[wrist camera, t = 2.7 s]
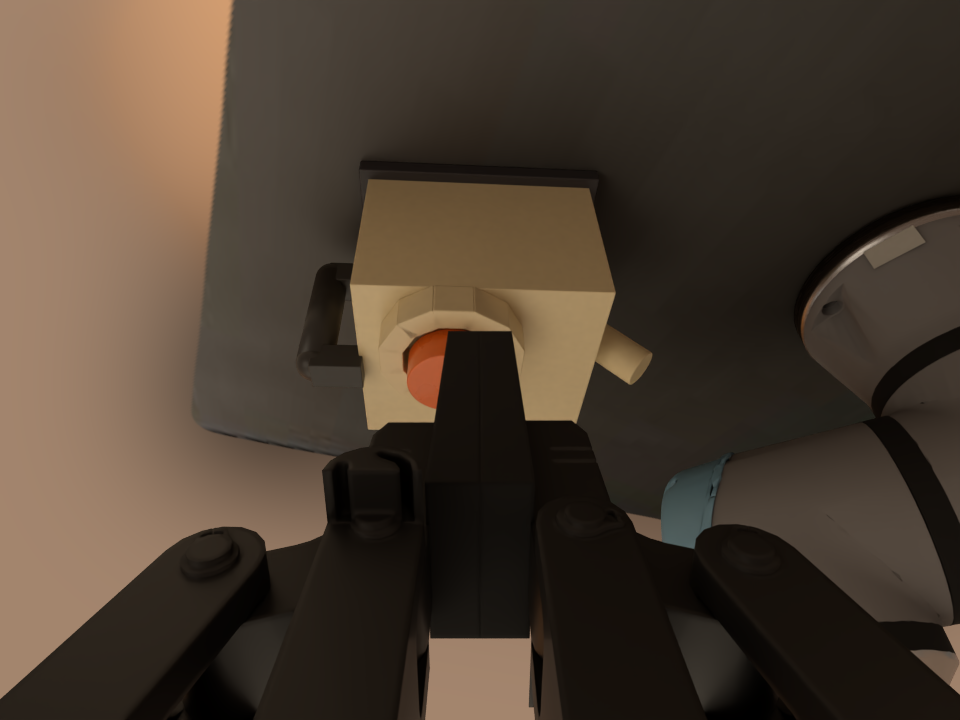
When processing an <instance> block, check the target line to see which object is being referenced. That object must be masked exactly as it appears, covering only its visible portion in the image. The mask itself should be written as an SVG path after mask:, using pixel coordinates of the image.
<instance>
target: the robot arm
mask: <svg viewBox="0 0 960 720" xmlns="http://www.w3.org/2000/svg"><path fill="white" fill-rule="evenodd" d="M794 322H795V327H796V330H797V332H798V334H799V336H800V338H801V340H802V342H803V344H804V346H805V348H806V350H807V351H808V353H809V354H810V356H811V357H812V358H813V359H814V360H815V361H817V362H818V363H819V364H820V365H821V366H822V367H824V368H825V369H826V370H827V371H828V372H830V373H831V374H832V375H833V376H834V377H836V378H837V379H838V380H839V381H840V382H841V383H843V384H844V385H845V386H846V387H847V388H849V389H850V390H851V391H852V392H853V393H854V394H856V395H857V396H858V397H859V398H860V399H862V400H863V401H864V402H865V403H866V404H867V405H868V406H869V407H870V408H871V410H872V412H873V413H874V415H875V417H876V418H875V419H871V420H867V421H863V422H859V423H855V424H851V425H848V426H844V427H840V428H836V429H832V430H828V431H824V432H820V433H816V434H812V435H808V436H804V437H800V438H797V439H793V440H789V441H785V442H781V443H777V444H773V445H769V446H765V447H761V448H757V449H753V450H749V451H745V452H741V453H737V454H734V453H732V452H731V453H727V454H725V455H723V456H722V457H721V458H720V459H718V460H715V461H712V462H709V463H705V464H702V465H699V466H696V467H692V468H689V469H686V470H683V471H681V472H679V473H677V474H676V475H675V476H674V477H673V478H672V479H671V480H670V481H669V483H668V485H667V486H666V488H665V492H664V495H663V500H662V509H661V531H662V542H661V541H657V540H654V539H650V538H648V537H646V536H643V535H641V534H639V533H637V532H636V530H635V528H634V525H633V523H632V521H631V520H630V518H629V517H628V515H627V514H626V513H625V511H623V510H622V509H620V508H619V507H617V506H616V505H614V504H613V503H611V501H610V498H609V495H608V492H607V489H606V487H605V484H604V481H603V478H602V475H601V472H600V469H599V466H598V464H597V463H596V458H595V455H594V452H593V451H592V446H591V443H590V441H589V438H588V435H587V433H586V432H585V431H584V430H583V429H581V428H580V427H579V426H578V425H577V424H575V423H574V422H573V421H572V420H526V419H525V413H524V406H523V400H522V394H521V387H520V381H519V374H518V368H517V361H516V355H515V348H514V342H513V335H512V331H448V335H447V342H446V348H445V355H444V361H443V368H442V374H441V381H440V387H439V394H438V400H437V406H436V413H435V419H434V422H388V423H387V424H386V425H385V426H383V427H382V428H381V429H380V430H379V431H377V432H376V433H375V434H374V435H373V437H372V440H371V443H370V446H369V447H365V448H359V449H356V450H352V451H349V452H346V453H343V454H341V455H340V456H338V457H336V458H334V459H333V460H331V461H330V462H329V463H328V464H327V465H326V467H325V468H324V469H323V470H322V474H323V483H324V493H325V502H326V512H327V521H328V523H327V526H326V529H325V531H324V534H323V535H322V536H320V537H318V538H316V539H313V540H311V541H308V542H305V543H301V544H298V545H294V546H289V547H284V548H280V549H275V550H271V551H266V548H265V541H264V540H263V539H262V538H261V537H260V536H259V535H258V534H257V532H254V531H251V530H249V529H246V528H243V527H219V528H214V529H208V530H204V531H201V532H198V533H196V534H193V535H191V536H189V537H186V538H184V539H182V540H180V541H179V542H178V543H176V544H175V545H173V546H172V547H170V548H169V549H167V550H166V551H165V552H164V553H163V554H162V555H160V556H159V557H158V558H157V559H156V560H155V561H154V562H153V563H151V564H150V565H149V566H148V567H147V568H146V569H145V570H144V571H142V572H141V573H140V574H139V575H138V576H137V577H136V578H135V579H134V580H132V581H131V582H130V583H129V584H128V585H127V586H126V587H125V588H124V589H122V590H121V591H120V592H119V593H118V594H117V595H116V596H115V597H114V598H112V599H111V600H110V601H109V602H108V603H107V604H106V605H105V606H104V607H102V608H101V609H100V610H99V611H98V612H97V613H96V614H95V615H94V616H92V617H91V618H90V619H89V620H88V621H87V622H86V623H85V624H83V625H82V626H81V627H80V628H79V629H78V630H77V631H76V632H75V633H73V634H72V635H71V636H70V637H69V638H68V639H67V640H66V641H65V642H63V643H62V644H61V645H60V646H59V647H58V648H57V649H56V650H55V651H54V652H52V653H51V654H50V655H49V656H48V657H47V658H46V659H45V660H43V661H42V662H41V663H40V664H39V665H38V666H37V667H36V668H35V669H33V670H32V671H31V672H30V673H29V674H28V675H27V676H26V677H25V678H23V679H22V680H21V681H20V682H19V683H18V684H17V685H16V686H15V687H13V688H12V689H11V690H10V691H9V692H8V693H7V694H6V695H4V696H3V697H2V698H1V699H0V720H425V714H426V703H427V692H428V681H429V670H430V666H429V632H430V638H529V637H530V629H531V666H530V690H529V707H534V713H535V720H960V695H959V694H958V693H957V692H956V691H955V690H954V689H953V688H952V687H951V686H949V685H950V683H951V681H952V678H953V676H954V674H955V672H956V670H957V667H958V665H959V660H958V658H957V656H956V654H955V652H954V650H953V648H952V645H951V643H950V641H949V639H948V637H947V635H946V633H945V631H944V629H943V627H945V626H951V625H955V624H960V195H959V196H950V197H944V198H939V199H934V200H930V201H926V202H923V203H919V204H916V205H913V206H910V207H907V208H905V209H902V210H899V211H897V212H895V213H892V214H890V215H888V216H886V217H884V218H882V219H880V220H878V221H876V222H874V223H872V224H870V225H869V226H867V227H865V228H863V229H862V230H860V231H859V232H857V233H856V234H854V235H852V236H851V237H850V238H848V239H847V240H846V241H844V242H843V243H842V244H840V245H839V246H838V247H837V248H836V249H834V250H833V251H832V252H831V253H830V254H829V255H828V256H827V257H826V258H824V259H823V261H822V262H821V263H820V264H819V265H818V266H817V267H816V268H815V270H814V271H813V272H812V273H811V275H810V276H809V277H808V279H807V280H806V282H805V283H804V285H803V287H802V289H801V291H800V293H799V295H798V298H797V301H796V304H795V310H794Z"/></svg>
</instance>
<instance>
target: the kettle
mask: <svg viewBox="0 0 960 720" xmlns="http://www.w3.org/2000/svg"><path fill="white" fill-rule="evenodd" d="M350 289H351V297H352V305H353V313H354V321H355V329H356V337H357V345H358V352H359V356H362V357H363V365H364V373H365V380H364V387H363V392H364V400H365V408H366V416H367V424H368V429H371V430H380V429H381V428H382V427H383V426H385V425H386V424H387V423H388V422H434V419H435V413H436V409H434V408H430V407H428V406H425V405H423V404H422V403H420V402H419V401H417V400H416V399H415V398H414V397H413V396H412V395H411V393H410V392H409V390H408V387H407V371H408V357H409V352H410V349H411V347H412V346H413V344H414V343H415V342H416V341H417V340H418V339H419V338H421V337H422V336H424V335H426V334H428V333H430V332H433V331H437V330H442V329H460V330H466V331H512V335H513V342H514V348H515V355H516V361H517V368H518V374H519V381H520V387H521V394H522V400H523V406H524V413H525V419H526V420H572V421H573V422H574V423H575V424H576V422H577V419H578V416H579V412H580V409H581V406H582V402H583V399H584V396H585V393H586V389H587V386H588V383H589V379H590V376H591V373H592V369H593V366H594V363H595V360H596V356H597V353H598V350H599V346H600V343H601V340H602V337H603V333H604V330H605V327H606V323H607V320H608V317H609V313H610V310H611V307H612V304H613V300H614V297H615V294H616V292H615V288H614V284H613V280H612V276H611V272H610V268H609V264H608V260H607V256H606V253H605V249H604V245H603V241H602V237H601V233H600V229H599V225H598V221H597V217H596V213H595V209H594V205H593V202H592V198H591V194H590V190H589V188H569V187H545V186H521V185H497V184H473V183H449V182H425V181H401V180H376V179H369V180H368V185H367V191H366V196H365V202H364V208H363V213H362V219H361V225H360V230H359V236H358V242H357V247H356V253H355V259H354V265H353V270H352V276H351V282H350Z"/></svg>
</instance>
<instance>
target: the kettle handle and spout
mask: <svg viewBox="0 0 960 720" xmlns="http://www.w3.org/2000/svg"><path fill="white" fill-rule="evenodd" d="M359 175H360V186H361V197H362V207H363V208H364V202H365V196H366V191H367V185H368V180H369V179H376V180H401V181H425V182H449V183H473V184H497V185H521V186H545V187H569V188H589V190H590V194H591V198H592V202H593V205H594V201H595V197H596V193H597V188H598V184H599V177H598V173H597V171H582V170H559V169H536V168H513V167H490V166H467V165H444V164H421V163H398V162H375V161H361V162H360V168H359ZM353 265H354V263H330V264H326V265H324V266H322V267H321V268H320V269H319V270H318V272H317V274H316V277H315V282H314V286H313V290H312V294H311V299H310V303H309V307H308V311H307V316H306V320H305V324H304V328H303V333H302V337H301V341H300V345H299V350H298V354H297V358H296V368H297V370H298V372H299V374H300V375H301V376H302V377H303V378H305V379H307V380H310V381H311V382H312V386H313V387H344V388H363V387H364V380H365V373H364V365H363V357H362V356H359V352H358V345H337V341H338V336H339V330H340V325H341V319H342V314H343V308H344V302H345V301H352V297H351V289H350V282H351V276H352V270H353ZM651 359H652V353H651V352H650V351H648V350H647V349H645V348H644V347H642V346H641V345H639V344H637V343H636V342H634V341H633V340H631V339H630V338H628V337H627V336H625V335H623V334H622V333H620V332H619V331H617V330H616V329H614V328H612V327H611V326H609V325H608V324H606V327H605V330H604V333H603V337H602V340H601V343H600V346H599V350H598V353H597V356H596V360H595V361H596V362H597V363H599V364H600V365H602V366H603V367H605V368H606V369H608V370H609V371H611V372H612V373H613V374H615V375H616V376H618V377H619V378H621V379H622V380H624V381H625V382H627V383H628V384H633V383H634V382H636V381H637V380H638V379H639V378H640V377H641V375H642V374H643V373H644V371H645V370H646V368H647V367H648V365H649V363H650V361H651Z"/></svg>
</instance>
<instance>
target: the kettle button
mask: <svg viewBox="0 0 960 720" xmlns="http://www.w3.org/2000/svg"><path fill="white" fill-rule="evenodd" d="M448 331H466V330H460V329H442V330H437V331H433V332H430V333H428V334H426V335H424V336H422V337H421V338H419V339H418V340H417V341H416V342H415V343H414V344H413V346H412V347H411V349H410V352H409V357H408V371H407V387H408V390H409V392H410V393H411V395H412V396H413V397H414V398H415V399H416V400H417V401H419V402H420V403H422V404H423V405H425V406H428V407H430V408H434V409H436V406H437V400H438V394H439V387H440V381H441V374H442V368H443V361H444V355H445V348H446V342H447V335H448Z"/></svg>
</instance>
